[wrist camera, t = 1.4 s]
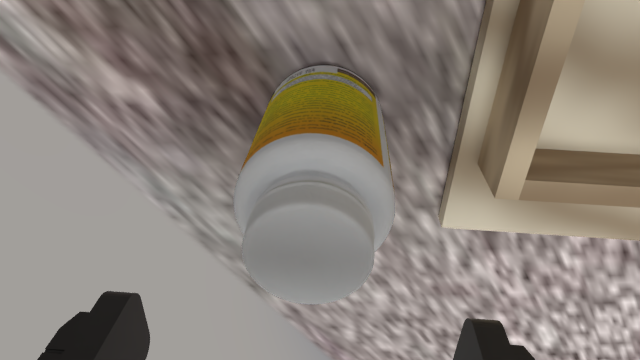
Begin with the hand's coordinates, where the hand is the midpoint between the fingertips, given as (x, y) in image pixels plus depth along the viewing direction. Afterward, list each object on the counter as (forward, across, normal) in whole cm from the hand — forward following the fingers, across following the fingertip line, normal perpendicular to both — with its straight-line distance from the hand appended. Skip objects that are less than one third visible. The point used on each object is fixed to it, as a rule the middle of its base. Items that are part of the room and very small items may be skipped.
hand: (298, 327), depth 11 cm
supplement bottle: (+13, 0, 0) cm, 13 cm away
